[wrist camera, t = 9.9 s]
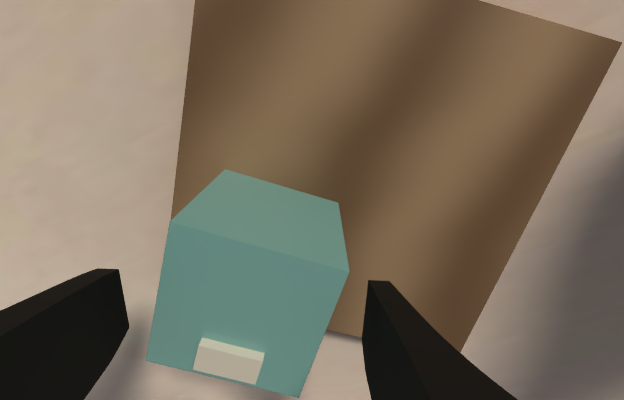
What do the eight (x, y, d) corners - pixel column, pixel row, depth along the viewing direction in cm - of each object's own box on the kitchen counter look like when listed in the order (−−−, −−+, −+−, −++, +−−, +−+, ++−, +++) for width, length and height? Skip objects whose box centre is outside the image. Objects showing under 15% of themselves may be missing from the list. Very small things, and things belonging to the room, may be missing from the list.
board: (598, 45, 12) (727, 29, 8) (449, 342, 17) (487, 419, 13) (213, -67, 11) (159, -144, 7) (171, 281, 16) (125, 345, 12)
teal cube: (225, 169, 13) (164, 226, 8) (338, 202, 13) (350, 278, 8) (203, 267, 14) (140, 369, 9) (305, 295, 15) (298, 407, 10)
